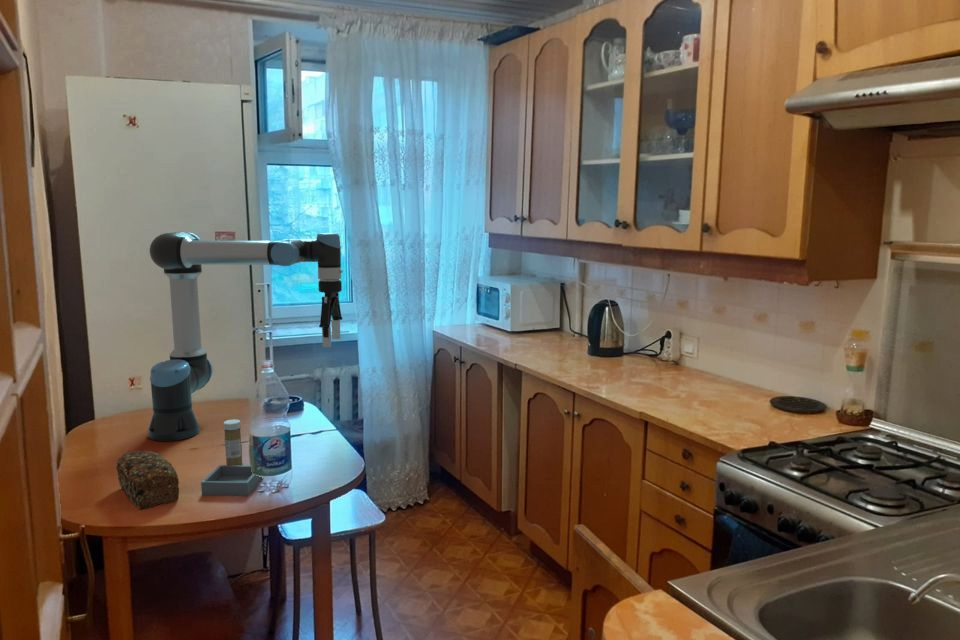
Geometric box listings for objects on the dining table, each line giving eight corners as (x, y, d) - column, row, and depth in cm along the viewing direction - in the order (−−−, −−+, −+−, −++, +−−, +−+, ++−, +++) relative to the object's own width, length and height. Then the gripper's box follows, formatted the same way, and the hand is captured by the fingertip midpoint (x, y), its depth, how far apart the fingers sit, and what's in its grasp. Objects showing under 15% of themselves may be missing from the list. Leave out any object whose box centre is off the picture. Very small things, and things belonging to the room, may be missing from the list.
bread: (117, 489, 184) (114, 452, 182) (160, 479, 191) (157, 444, 189) (136, 512, 170) (133, 473, 168) (181, 501, 177) (179, 463, 175)
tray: (201, 495, 180) (201, 482, 179) (220, 477, 192) (219, 465, 191) (248, 495, 180) (247, 482, 179) (263, 477, 191) (263, 465, 191)
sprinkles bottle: (243, 463, 202) (241, 418, 200) (242, 468, 198) (239, 423, 196) (226, 464, 201) (224, 419, 199) (225, 470, 197) (222, 424, 195)
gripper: (332, 284, 220) (334, 350, 223) (348, 276, 244) (350, 336, 248) (308, 284, 220) (311, 350, 223) (327, 276, 244) (329, 335, 248)
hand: (331, 342), depth 235 cm, fingers open, 13 cm apart
